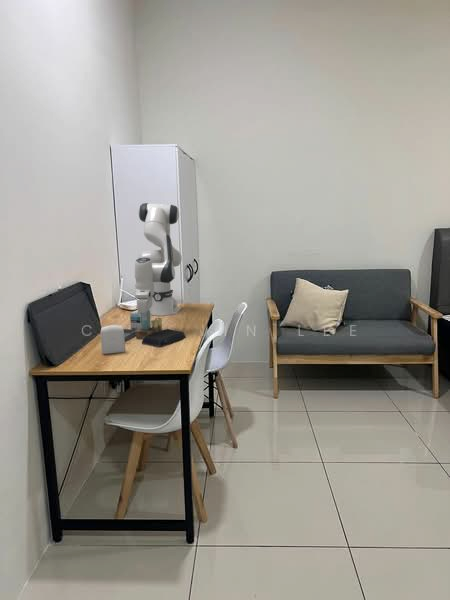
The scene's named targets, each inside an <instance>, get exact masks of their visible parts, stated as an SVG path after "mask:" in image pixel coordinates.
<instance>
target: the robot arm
mask: <svg viewBox="0 0 450 600" xmlns="http://www.w3.org/2000/svg"><path fill="white" fill-rule="evenodd" d="M137 212H138V213H137V214H138V217H139V220H141V222H143V223H144V226H143V235H144V237H145V238H146V240H147V241H149V242H150V243H152V244H153V245H154V246H156V247H158V248H160V249H151V250H150V249H147V250H144V251H141V252H140V253H139V255H138V258H137V259H136V260H135V264H134V278H135V279H134V280H135V286H134V287H135V294H134V296H135V297H134V298H135V299H136V307H137V308H136V309H137V310H138V313H139V314H142V315H143V320H147V312H148V310H149V311H150V315H152V316H163V317H164V316H170V315H171V316H172V315H177V314H178V313H179V312H180V311H181V307H180V306H178V305H177V303H178V302H177V300H176V298H174V297H173V293H174V290H173V289H172V287H171V282H172V281H174V280H175V278H176V277H175V276H176V271H175V267H178V266H180V264H181V262H182V260H183V258H182V254H181V252H180V251H179V250H177V249H176V248H175V247H174V246H173V244H172V239H171V225H173V224H177V223H178V220H179V217H180V211H179V208H178V207H177V206H176V205H174V204H169V203H167V204H166V203H161V202H160V203H147V202H145V203H141V204H140V206H139V209H138V211H137Z"/></svg>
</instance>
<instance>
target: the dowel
mask: <svg viewBox="0 0 450 600" xmlns="http://www.w3.org/2000/svg"><path fill="white" fill-rule="evenodd" d="M150 321H151V317H150V318H149V310H148V312H147V320H143V315H142V330H143V331H149V330H150Z"/></svg>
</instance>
